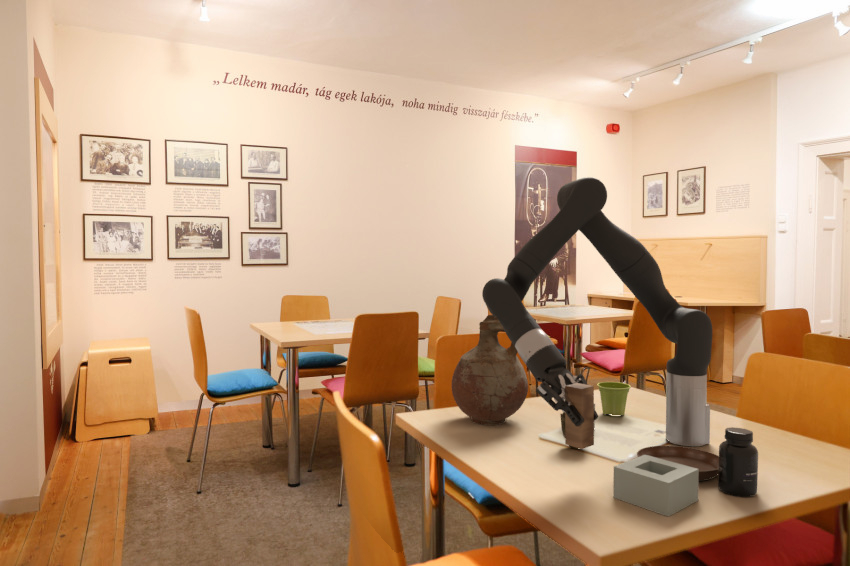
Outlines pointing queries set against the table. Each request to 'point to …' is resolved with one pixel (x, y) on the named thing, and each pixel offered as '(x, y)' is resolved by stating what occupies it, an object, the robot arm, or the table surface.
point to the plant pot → (613, 397)
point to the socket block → (656, 484)
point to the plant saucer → (686, 458)
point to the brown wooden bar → (585, 405)
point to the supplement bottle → (738, 463)
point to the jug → (489, 378)
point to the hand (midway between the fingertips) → (587, 421)
